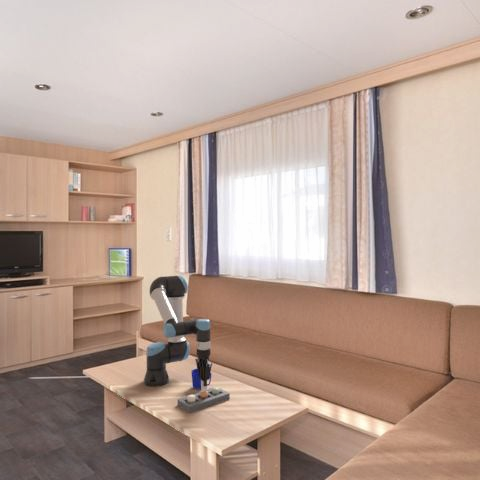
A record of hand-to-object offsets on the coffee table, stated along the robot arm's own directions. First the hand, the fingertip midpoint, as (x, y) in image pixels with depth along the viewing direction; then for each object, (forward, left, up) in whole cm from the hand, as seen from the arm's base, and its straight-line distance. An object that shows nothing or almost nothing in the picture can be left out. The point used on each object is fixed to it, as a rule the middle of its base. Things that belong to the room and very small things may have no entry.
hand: (204, 391), depth 212 cm
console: (0, 0, -6) cm, 6 cm away
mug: (-17, +10, -6) cm, 21 cm away
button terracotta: (0, 0, -3) cm, 3 cm away
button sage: (0, +8, -4) cm, 9 cm away
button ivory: (0, -8, -4) cm, 9 cm away
